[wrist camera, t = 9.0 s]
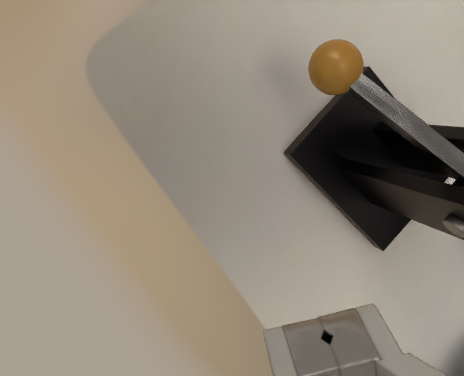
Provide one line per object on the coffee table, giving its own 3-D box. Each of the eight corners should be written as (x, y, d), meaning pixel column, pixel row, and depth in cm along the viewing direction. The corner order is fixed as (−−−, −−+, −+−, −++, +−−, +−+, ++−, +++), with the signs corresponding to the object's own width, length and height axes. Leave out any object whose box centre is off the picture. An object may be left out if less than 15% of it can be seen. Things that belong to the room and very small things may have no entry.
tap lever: (295, 80, 28) (298, 59, 25) (329, 44, 28) (336, 18, 25) (477, 228, 26) (505, 226, 23) (512, 188, 26) (546, 180, 23)
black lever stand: (283, 152, 34) (393, 185, 21) (360, 67, 34) (516, 45, 21) (375, 246, 37) (516, 324, 24) (443, 169, 38) (619, 204, 25)
